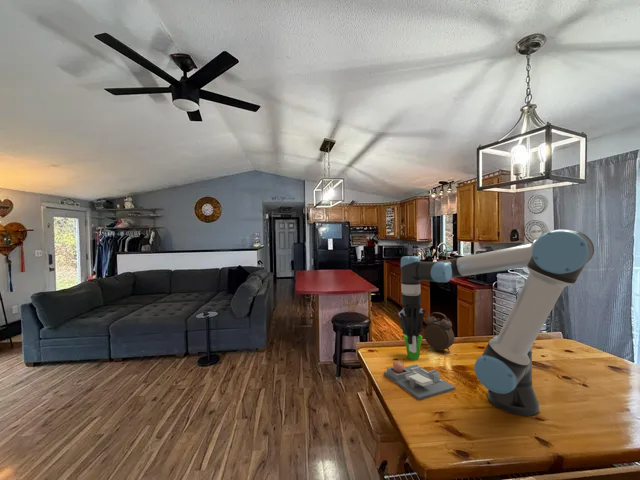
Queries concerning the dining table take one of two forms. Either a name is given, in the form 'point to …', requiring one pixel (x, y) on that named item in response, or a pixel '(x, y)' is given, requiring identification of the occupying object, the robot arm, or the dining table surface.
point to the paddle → (419, 379)
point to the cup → (416, 355)
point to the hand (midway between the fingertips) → (412, 351)
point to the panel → (415, 388)
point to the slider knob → (434, 376)
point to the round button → (398, 367)
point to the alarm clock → (438, 332)
